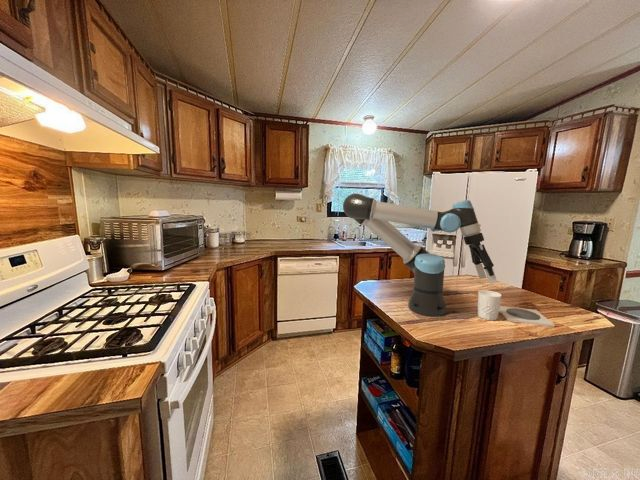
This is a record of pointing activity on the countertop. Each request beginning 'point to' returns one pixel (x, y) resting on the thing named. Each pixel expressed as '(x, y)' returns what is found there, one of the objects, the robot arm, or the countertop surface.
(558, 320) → the countertop surface
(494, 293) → the white cup
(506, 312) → the trivet
